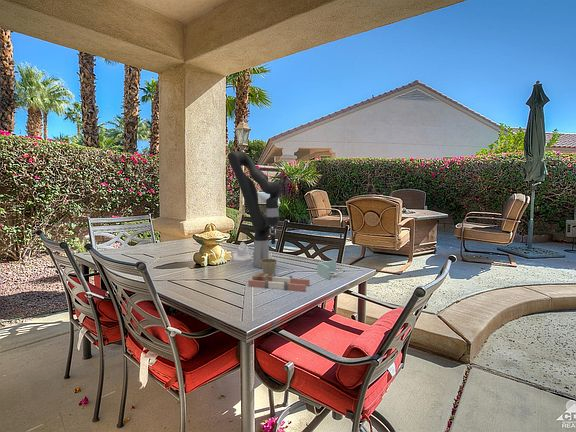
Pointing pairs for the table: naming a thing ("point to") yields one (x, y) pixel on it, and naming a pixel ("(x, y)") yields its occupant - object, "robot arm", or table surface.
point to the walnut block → (260, 277)
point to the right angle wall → (327, 269)
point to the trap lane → (281, 283)
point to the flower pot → (268, 266)
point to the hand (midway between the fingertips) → (273, 242)
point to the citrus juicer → (242, 254)
